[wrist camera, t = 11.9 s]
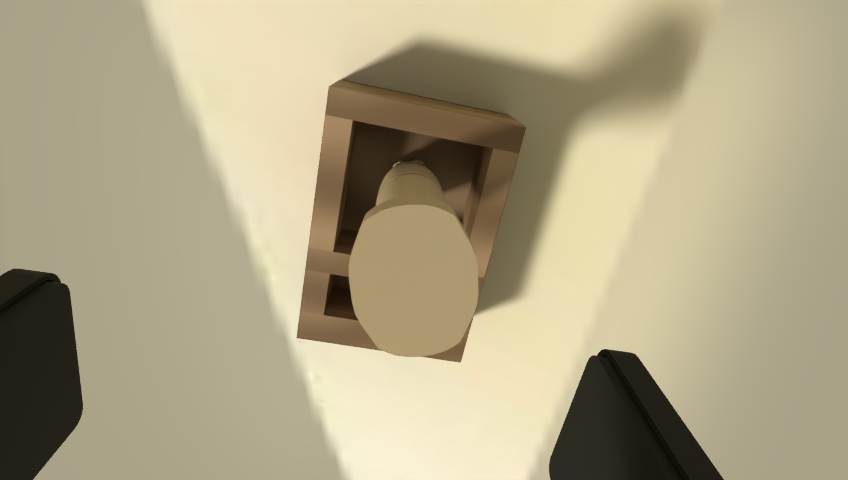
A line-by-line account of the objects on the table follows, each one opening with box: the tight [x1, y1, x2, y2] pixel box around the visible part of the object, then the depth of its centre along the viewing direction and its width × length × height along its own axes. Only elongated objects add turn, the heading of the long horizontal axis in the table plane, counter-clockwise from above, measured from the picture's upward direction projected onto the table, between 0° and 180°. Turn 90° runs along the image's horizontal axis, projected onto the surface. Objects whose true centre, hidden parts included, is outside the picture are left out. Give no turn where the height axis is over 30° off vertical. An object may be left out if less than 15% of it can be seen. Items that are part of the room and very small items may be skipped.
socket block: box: [297, 80, 526, 362], centre depth 32 cm, size 16×11×5 cm
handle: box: [349, 159, 478, 357], centre depth 25 cm, size 5×6×15 cm
